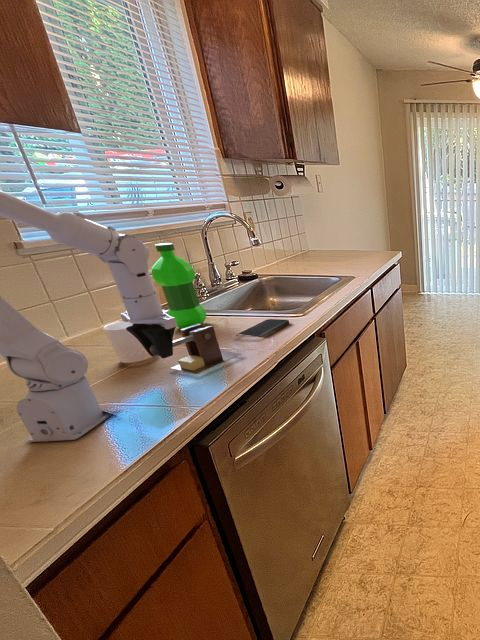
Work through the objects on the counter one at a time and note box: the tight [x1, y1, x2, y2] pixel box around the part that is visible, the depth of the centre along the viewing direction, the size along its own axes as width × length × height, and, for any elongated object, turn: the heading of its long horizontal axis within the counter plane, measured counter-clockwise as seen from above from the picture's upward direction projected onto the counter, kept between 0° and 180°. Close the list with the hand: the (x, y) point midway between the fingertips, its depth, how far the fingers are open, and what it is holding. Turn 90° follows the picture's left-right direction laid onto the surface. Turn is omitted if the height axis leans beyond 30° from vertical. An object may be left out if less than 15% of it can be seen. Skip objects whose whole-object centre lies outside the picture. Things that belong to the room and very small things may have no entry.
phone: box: [235, 318, 290, 339], centre depth 119 cm, size 8×1×15 cm
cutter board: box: [171, 324, 242, 375], centre depth 95 cm, size 12×9×10 cm
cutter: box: [150, 328, 201, 357], centre depth 90 cm, size 12×3×3 cm, turn 159°
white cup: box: [102, 320, 154, 364], centre depth 98 cm, size 8×8×10 cm
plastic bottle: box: [151, 242, 207, 329], centre depth 119 cm, size 10×10×25 cm
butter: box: [177, 355, 205, 370], centre depth 94 cm, size 3×4×2 cm
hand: (161, 355), depth 87 cm, fingers closed on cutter, 3 cm apart
